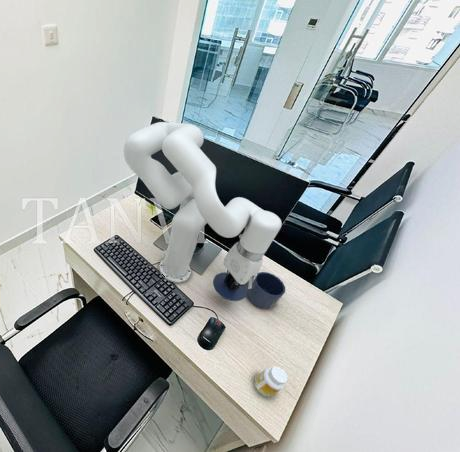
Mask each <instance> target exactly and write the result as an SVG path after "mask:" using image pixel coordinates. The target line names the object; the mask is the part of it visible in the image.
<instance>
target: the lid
mask: <svg viewBox="0 0 460 452" xmlns="http://www.w3.org/2000/svg"><path fill="white" fill-rule="evenodd" d="M226 275H227V271H226V272H225V271H224V272H220V273H217V274H215V276H214V277H213V280H212V286H213V289H214V290H215V292H216V293H217V294H218V295H219V296H220V297H222V298H223V299H225V300H228V301H230V302H240V301H242V300H244V299H245V298H247V296H246V295H247V289H246V288H245V287H244V286H240V287H239V288H238V289H237V290H230V289H229V288H230V286H231V284H232V282H235V278H234V277H233V276H231V277H230V279H229V281H228V282H227V283H225V282H224V280H225V277H226Z"/></svg>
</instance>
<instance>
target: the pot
mask: <svg viewBox="0 0 460 452" xmlns="http://www.w3.org/2000/svg"><path fill="white" fill-rule="evenodd" d="M285 293H286V285H285V283H284V282H283V281H282V279H280V277H278V276H277V275H275V274H273V273H270V272H267V271H261V272H260V271H259V272H258V274H257V276H256V278H255V279H254V281H253V282H252V288H251V289H247V295H246V298H247V300H248V301H249V302H250V303H251V304H252V305H253V306H254V307H256V308H259V309H262V310H270V309H272V308H274V306H275V305H276V304H277V302H278V301H279V300H280V299H281V298H282V297H283V295H284V294H285Z"/></svg>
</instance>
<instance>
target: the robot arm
mask: <svg viewBox="0 0 460 452" xmlns="http://www.w3.org/2000/svg"><path fill="white" fill-rule="evenodd" d="M204 141H205V140H204V134H203V132H202V129H200V128H199V127H198V126H196V125H194V124H191V123H183V122H169V121H168V122H167V121H159V122H158V121H157V122H155V123H152V124H150V125H148V126H145V127H143V128H141V129H139V130H137V131H135V132H133V133H132V134H131V135H129V137H127V138H126V140H125V142H124V145H123V156H124V161H125V162H126V164H127V166H128V168H129V169H130V170H131V171H132V172H133V173H134V174H135V175H136V176H137V177H138V178H139V179H140V180H141V181H142V182H143V183H144V185H145V186H146V187H147V189H148V191H149V192H150V193H151V194H152V195H153V197H154V198H155V199H156V201H157V202H158V203H159V205H160V206H162V207H163V208H164V209H167V210H173V209H175V208H177V207H179V206H180V205H181V204H183V202H184V205H183V206H182V207H181V208H180V209H178V211H177V212H176V213H175V214H174V215H173V218H172V220H171V231H170V237H169V241H168V246H167V248H166V250H163V254H164V258H163V259H161V260H160V263H159V266H158V271H159V273H160V275H161V276H162V277H163V278H164V279H165V280H167V281H168V282H172V283H177V284H179V283H184V282H186V281H188V279H190V277H191V273H192V269H191V266H190V265H191V261H192V258H193V256H194V253H195V251H196V247H197V244H198V241H199V235H200V233H201V231H202V229H204V227H205V226H206V225H207V224H208V225H209V227H210V228H211V229H212V230H213V231H214V232H215V233H216V234H217V235H219V236H221V237H223V238H228V239H229V238H230V239H231V238H236V237H237V236H238V238H239V241H237V242H235V243H234V244H233V246H231V248H230V249H229V250H228V252H227V253H226V255H225V257H224V259H223V264H224V266H225V268H226V272H227V275H226V277H225V280H224V282H225V283H227V282H228V281H229V279H230V277H231V276H233V277H234V278H235V282H232V284H231V286H230V288H229V289H230V290H237V289H238V288H239V287H240V286H244V287H245V288H246V289H251V288H252V282H253V281H254V279H255V278H256V276H257V274H258V273H260V270H261V267H262V265H263V261H264V260H263V258H264V256H265V254H266V252H267V251H268V249H269V248H270V246H271V244H272V243H273V242H274V240H275V238H276V236H277V235H278V234H279V232H280V230H281V228H282V219H281V218H280V217H279V216H278V215H277V214H275V213H274V212H272V211H269V210H264V209H262V208H261V207H259V206H258V205H257V204H255V203H254V202H252V201H250V200H249V199H247V198H245V197H242V196H241V197H240V196H238V197H234V198H232V199H231V200H229V202H228V203H227V204H226V205H224V204H223V203H222V202H221V199H220V198H219V195H218V193H217V189H216V188H217V187H216V178H217V167H216V165H215V164H214V163H213V162H212V161H211V159H210V158H209V157H208V156H207V155H206V154H205V153H204V152H203V150H202V149H201V147H202V146H203V144H204ZM161 150H162V151H161ZM159 151H161V152H163V155H164V156H165V157H166V159H167V160H168V161H169V162H170V163H171V165H172V166H173V167H174V169H176V171H177V172H175V173H173V174H171V173H170V172H169V171H168V170H167V168H166V167H165V166H164V164H162V163H161V162H160V161H159V160H157V159H154V158H152V155H154V154H156V153H158V152H159ZM243 230H244V231H243ZM242 231H243V233H242ZM162 274H163V275H164V276H165V277H164V276H163V275H162Z"/></svg>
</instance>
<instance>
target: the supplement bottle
mask: <svg viewBox="0 0 460 452" xmlns="http://www.w3.org/2000/svg"><path fill="white" fill-rule="evenodd" d="M287 382H288V375H287V372H286V371H285V370H284V369H283V368H282V367H280V366H273V367H271V366H270V367H266V368H265V369H264V370H263V371H261V372H260V373H259V374H258V375H257V376H256V377H255V378H254V385H255V388H256V390H257V392H259V393H260V394H261V395H262V396H264V397H272V396H274V395H275V394H277V393H278V392H281V390H283V389H284V388H285V386H286V383H287Z"/></svg>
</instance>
